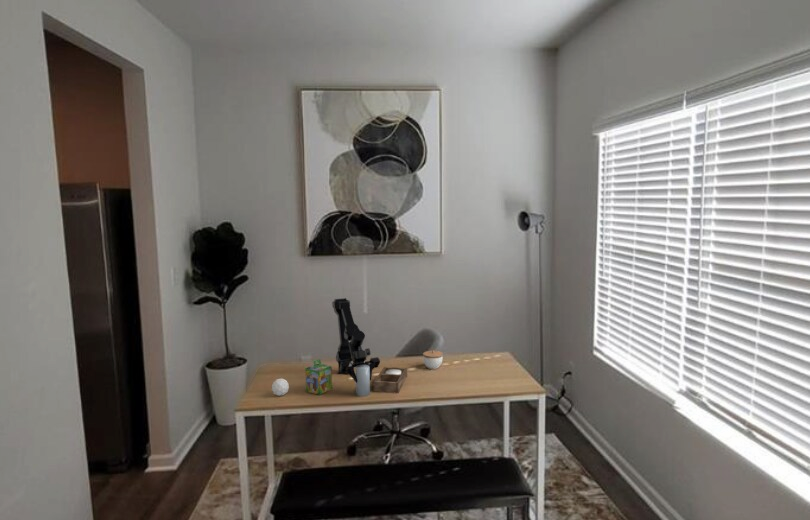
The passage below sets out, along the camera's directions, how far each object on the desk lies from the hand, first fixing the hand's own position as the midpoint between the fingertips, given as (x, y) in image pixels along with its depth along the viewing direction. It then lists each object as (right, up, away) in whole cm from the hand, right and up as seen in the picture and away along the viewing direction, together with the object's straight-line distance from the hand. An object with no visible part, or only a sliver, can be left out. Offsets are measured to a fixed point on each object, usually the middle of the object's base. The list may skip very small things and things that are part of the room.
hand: (363, 381), depth 220 cm
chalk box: (-22, -7, +7) cm, 24 cm away
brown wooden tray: (+12, -5, +15) cm, 20 cm away
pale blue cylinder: (0, -6, +2) cm, 7 cm away
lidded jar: (+34, -3, +39) cm, 52 cm away
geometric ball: (-39, -7, +2) cm, 40 cm away
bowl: (+13, -3, +20) cm, 24 cm away
